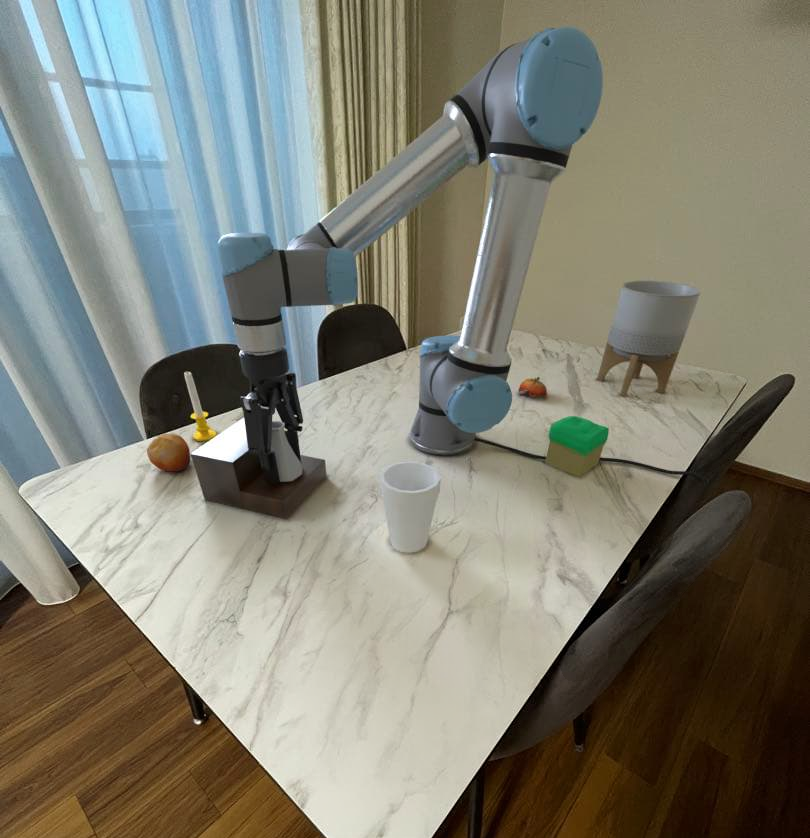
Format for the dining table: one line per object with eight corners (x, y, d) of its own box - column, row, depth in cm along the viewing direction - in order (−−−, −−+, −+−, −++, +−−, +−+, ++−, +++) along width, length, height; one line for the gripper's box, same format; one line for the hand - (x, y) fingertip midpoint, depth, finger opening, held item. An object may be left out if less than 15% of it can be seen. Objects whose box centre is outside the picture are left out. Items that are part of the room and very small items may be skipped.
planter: (669, 382, 141) (705, 285, 124) (657, 403, 128) (696, 299, 112) (605, 370, 148) (631, 277, 132) (588, 389, 136) (614, 289, 119)
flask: (294, 485, 86) (286, 435, 80) (258, 480, 88) (247, 431, 81) (308, 465, 92) (302, 418, 86) (274, 461, 93) (265, 414, 87)
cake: (559, 446, 108) (569, 405, 102) (602, 463, 102) (616, 420, 96) (536, 461, 103) (545, 418, 97) (580, 479, 97) (592, 435, 91)
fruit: (206, 451, 102) (184, 430, 95) (190, 483, 100) (167, 464, 92) (175, 445, 104) (151, 424, 97) (159, 476, 102) (134, 457, 94)
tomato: (551, 397, 127) (537, 375, 125) (529, 412, 130) (515, 391, 128) (548, 390, 134) (534, 369, 132) (527, 405, 137) (513, 385, 135)
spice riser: (326, 476, 97) (321, 432, 91) (286, 519, 86) (277, 472, 79) (252, 461, 102) (242, 418, 96) (204, 500, 90) (190, 453, 84)
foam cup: (380, 525, 84) (379, 462, 76) (431, 523, 85) (435, 460, 77) (383, 560, 77) (381, 494, 69) (439, 557, 78) (444, 492, 70)
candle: (221, 436, 111) (204, 370, 101) (200, 443, 108) (180, 376, 98) (210, 429, 114) (192, 364, 104) (189, 436, 111) (169, 370, 101)
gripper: (275, 329, 84) (293, 445, 98) (202, 365, 69) (235, 495, 83) (313, 334, 82) (325, 451, 96) (245, 371, 67) (272, 504, 81)
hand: (283, 472), depth 90 cm, fingers closed on flask, 7 cm apart
